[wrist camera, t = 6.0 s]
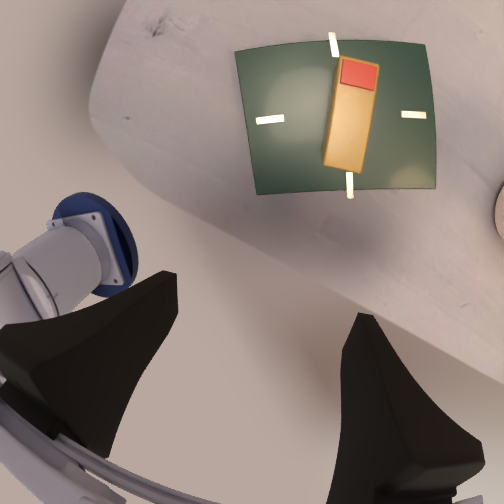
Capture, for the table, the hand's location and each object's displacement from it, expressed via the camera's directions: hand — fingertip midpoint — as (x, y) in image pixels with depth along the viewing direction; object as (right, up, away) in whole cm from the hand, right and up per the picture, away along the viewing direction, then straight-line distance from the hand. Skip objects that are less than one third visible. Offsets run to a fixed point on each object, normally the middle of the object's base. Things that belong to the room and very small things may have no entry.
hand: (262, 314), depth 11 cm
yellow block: (+4, +9, +2) cm, 10 cm away
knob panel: (+5, +10, +4) cm, 12 cm away
